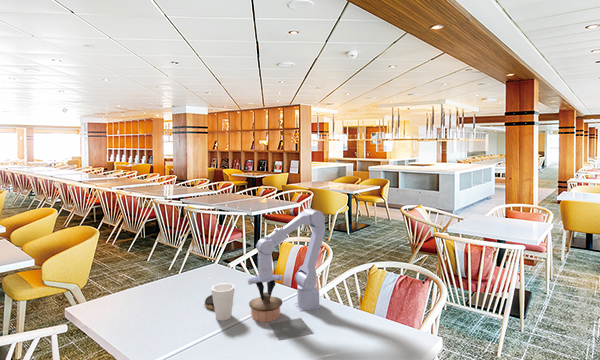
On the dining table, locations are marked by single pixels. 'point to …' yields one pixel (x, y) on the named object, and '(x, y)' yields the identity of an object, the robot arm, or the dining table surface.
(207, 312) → the dining table surface
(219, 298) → the foam cup
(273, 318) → the bowl
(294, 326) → the mat
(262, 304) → the lid
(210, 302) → the donut
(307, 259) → the robot arm
